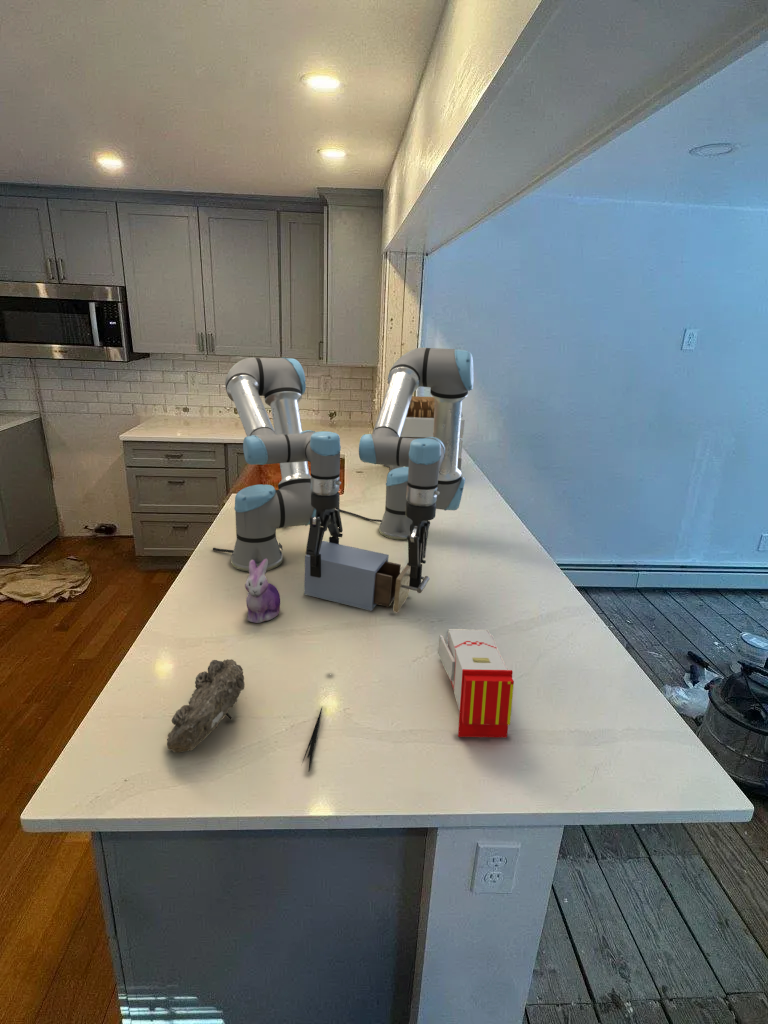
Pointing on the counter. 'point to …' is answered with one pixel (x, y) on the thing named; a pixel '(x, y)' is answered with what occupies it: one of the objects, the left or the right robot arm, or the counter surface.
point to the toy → (478, 682)
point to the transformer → (424, 423)
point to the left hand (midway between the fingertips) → (325, 567)
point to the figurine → (261, 594)
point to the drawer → (394, 585)
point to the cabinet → (345, 575)
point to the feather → (313, 740)
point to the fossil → (206, 705)
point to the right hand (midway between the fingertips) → (414, 586)
